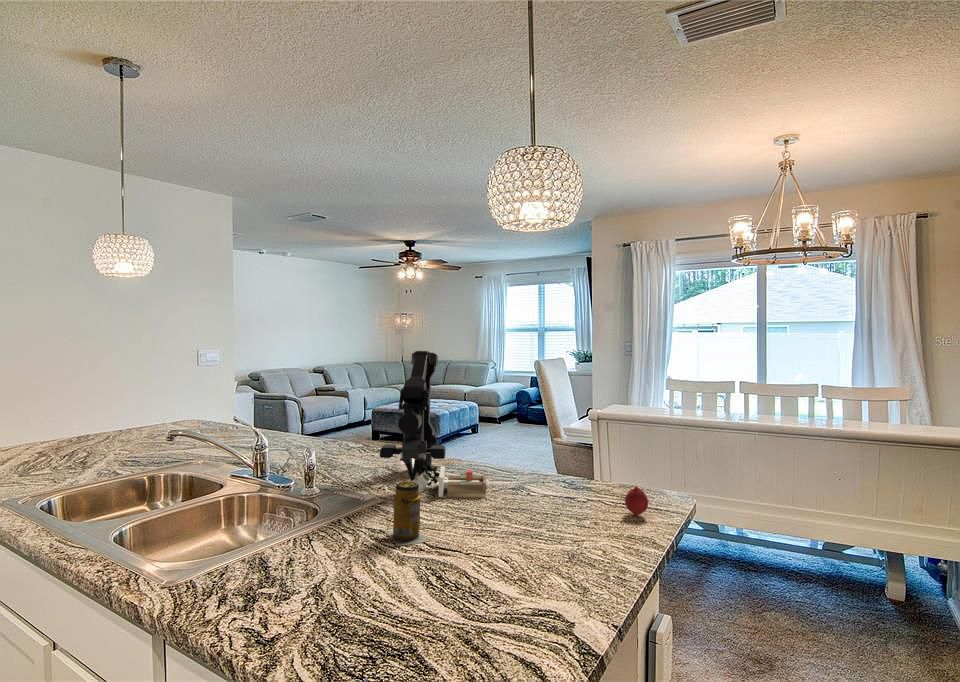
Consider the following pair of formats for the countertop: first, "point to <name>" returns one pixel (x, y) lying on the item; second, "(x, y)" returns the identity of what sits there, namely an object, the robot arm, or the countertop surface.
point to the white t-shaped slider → (444, 483)
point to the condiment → (406, 515)
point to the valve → (426, 477)
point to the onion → (636, 501)
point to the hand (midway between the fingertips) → (412, 480)
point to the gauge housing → (466, 486)
